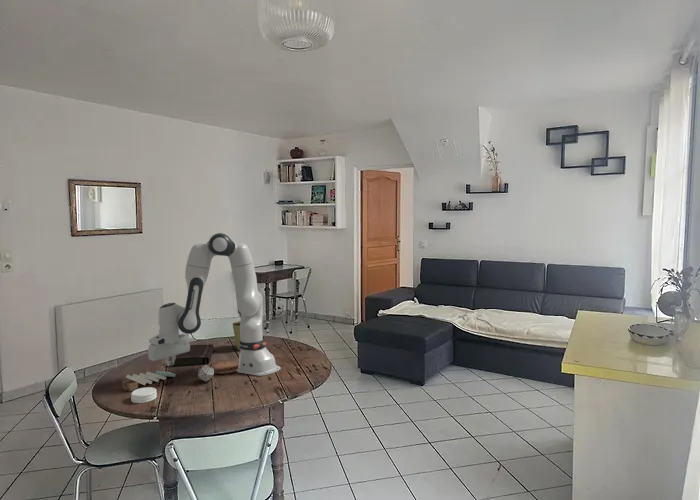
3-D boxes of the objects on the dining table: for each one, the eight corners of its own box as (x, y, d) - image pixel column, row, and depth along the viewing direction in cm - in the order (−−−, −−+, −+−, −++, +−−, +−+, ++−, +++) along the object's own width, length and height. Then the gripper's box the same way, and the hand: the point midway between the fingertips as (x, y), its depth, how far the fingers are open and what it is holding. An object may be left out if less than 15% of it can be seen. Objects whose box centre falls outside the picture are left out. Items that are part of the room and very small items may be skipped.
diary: (214, 352, 267) (213, 343, 266) (209, 365, 242) (209, 356, 242) (180, 353, 263) (179, 345, 263) (171, 367, 238) (171, 358, 238)
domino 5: (175, 374, 223) (161, 372, 217) (174, 377, 223) (160, 375, 217) (170, 372, 226) (156, 370, 220) (169, 375, 226) (155, 373, 220)
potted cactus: (265, 346, 274) (264, 296, 272) (247, 352, 261) (245, 300, 259) (246, 342, 282) (245, 294, 280) (227, 349, 269) (225, 298, 267)
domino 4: (166, 377, 219) (151, 373, 214) (165, 380, 219) (150, 376, 213) (161, 375, 222) (147, 371, 216) (160, 378, 222) (145, 374, 216)
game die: (203, 390, 215) (190, 377, 210) (204, 378, 222) (191, 365, 217) (220, 380, 215) (207, 367, 210) (220, 369, 222) (208, 355, 217)
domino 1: (146, 382, 212) (132, 376, 206) (145, 385, 211) (130, 379, 206) (141, 380, 214) (127, 374, 209) (140, 383, 214) (125, 377, 209)
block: (138, 389, 207) (137, 382, 207) (130, 391, 205) (130, 384, 204) (130, 386, 212) (130, 379, 211) (122, 388, 209) (122, 381, 209)
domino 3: (159, 379, 217) (145, 374, 211) (158, 382, 216) (143, 377, 211) (154, 377, 219) (140, 372, 214) (153, 380, 219) (138, 375, 213)
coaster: (160, 394, 202) (159, 386, 202) (152, 403, 192) (151, 395, 192) (136, 395, 201) (136, 387, 201) (127, 404, 191) (126, 396, 191)
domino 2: (152, 381, 214) (138, 375, 209) (151, 384, 213) (136, 378, 208) (147, 379, 217) (133, 373, 211) (146, 382, 216) (132, 376, 211)
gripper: (184, 331, 232) (185, 358, 233) (145, 340, 216) (147, 369, 217) (192, 333, 229) (193, 360, 230) (152, 342, 213) (154, 372, 213)
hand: (170, 365), depth 223 cm, fingers closed
